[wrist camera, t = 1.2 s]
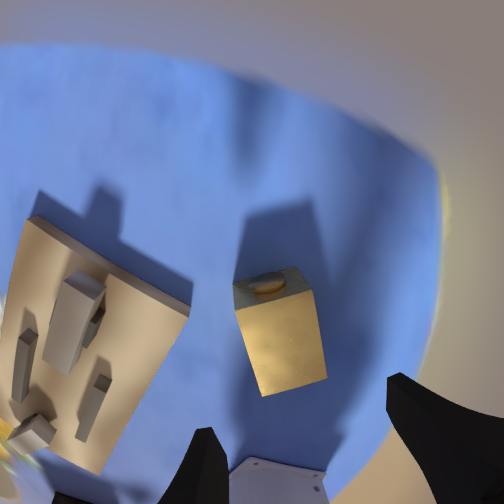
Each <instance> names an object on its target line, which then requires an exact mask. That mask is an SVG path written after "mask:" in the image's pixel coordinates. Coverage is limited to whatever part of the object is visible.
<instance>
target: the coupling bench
mask: <svg viewBox="0 0 504 504" xmlns="http://www.w3.org/2000/svg"><path fill="white" fill-rule="evenodd" d="M190 309H191V307H190V306H188V305H186V304H184V303H183V302H181V301H179V300H177V299H175V298H173V297H171V296H170V295H168V294H166V293H164V292H162V291H161V290H159V289H157V288H155V287H153V286H152V285H150V284H148V283H146V282H145V281H143V280H141V279H139V278H138V277H136V276H134V275H132V274H131V273H129V272H127V271H126V270H124V269H122V268H120V267H119V266H117V265H115V264H114V263H112V262H110V261H109V260H107V259H105V258H104V257H102V256H101V255H99V254H97V253H96V252H94V251H92V250H91V249H89V248H88V247H86V246H84V245H83V244H81V243H80V242H78V241H77V240H75V239H73V238H72V237H70V236H69V235H67V234H66V233H64V232H63V231H61V230H60V229H58V228H57V227H55V226H54V225H52V224H51V223H49V222H48V221H46V220H45V219H43V218H42V217H40V216H39V215H37V216H34V217H31V218H28V219H26V221H25V224H24V228H23V231H22V234H21V238H20V241H19V245H18V249H17V252H16V256H15V260H14V264H13V269H12V273H11V278H10V282H9V287H8V293H7V298H6V304H5V310H4V316H3V323H2V331H1V340H0V418H2V419H3V420H4V421H6V422H7V423H8V424H10V425H11V426H13V427H14V430H13V431H12V433H11V434H10V436H9V438H8V439H7V442H8V443H9V444H10V445H11V446H12V447H13V448H14V449H15V450H16V451H17V452H19V453H20V454H21V455H25V454H28V453H31V452H33V451H36V450H39V449H42V448H44V447H45V448H47V449H48V450H50V451H52V452H54V453H55V454H57V455H59V456H61V457H62V458H64V459H66V460H68V461H70V462H72V463H74V464H76V465H78V466H80V467H82V468H84V469H86V470H88V471H90V472H92V473H94V474H96V475H98V476H99V474H100V472H101V470H102V469H103V467H104V465H105V463H106V461H107V459H108V458H109V456H110V454H111V452H112V450H113V449H114V447H115V445H116V443H117V441H118V440H119V438H120V436H121V434H122V432H123V431H124V429H125V427H126V425H127V424H128V422H129V420H130V418H131V416H132V415H133V413H134V411H135V409H136V408H137V406H138V404H139V402H140V401H141V399H142V397H143V395H144V394H145V392H146V390H147V388H148V387H149V385H150V383H151V381H152V380H153V378H154V376H155V374H156V373H157V371H158V369H159V368H160V366H161V364H162V362H163V361H164V359H165V357H166V355H167V354H168V352H169V350H170V349H171V347H172V345H173V343H174V342H175V340H176V338H177V337H178V335H179V333H180V332H181V330H182V328H183V326H184V325H185V323H186V321H187V320H188V318H189V314H190Z"/></svg>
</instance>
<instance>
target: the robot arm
mask: <svg viewBox="0 0 504 504" xmlns="http://www.w3.org/2000/svg"><path fill="white" fill-rule="evenodd" d="M386 411H387V413H388V415H389V417H390V420H391V422H392V424H393V426H394V428H395V429H396V431H397V433H398V434H399V436H400V437H401V438H402V440H403V442H404V443H405V445H406V446H407V448H408V449H409V451H410V452H411V454H412V455H413V457H414V458H415V460H416V461H417V463H418V464H419V466H420V468H421V470H422V471H423V473H424V476H425V478H426V480H427V482H428V484H429V486H430V488H431V491H432V493H433V495H434V498H435V500H436V503H437V504H504V418H499V417H495V416H490V415H486V414H483V413H479V412H476V411H473V410H470V409H467V408H465V407H462V406H460V405H458V404H455V403H453V402H451V401H449V400H447V399H445V398H443V397H441V396H440V395H438V394H436V393H434V392H432V391H430V390H429V389H427V388H425V387H424V386H422V385H420V384H419V383H417V382H415V381H414V380H412V379H410V378H409V377H407V376H406V375H404V374H402V373H401V372H399V373H397V374H395V375H392V376H390V377H387V399H386ZM326 476H327V474H326V472H321V471H315V470H309V469H304V468H298V467H293V466H289V465H284V464H279V463H275V462H271V461H267V460H263V459H259V458H255V457H249V458H247V459H246V460H245V461H244V462H242V463H241V464H240V465H239V466H238V467H237V468H236V469H235V470H234V471H233V472H231V473H230V474H229V470H228V462H227V455H226V453H225V451H224V450H223V448H222V446H221V444H220V442H219V440H218V439H217V437H216V435H215V433H214V431H213V429H212V427H207V428H201V429H197V430H196V431H195V433H194V435H193V438H192V440H191V443H190V445H189V448H188V450H187V452H186V454H185V457H184V459H183V461H182V463H181V465H180V467H179V469H178V471H177V473H176V475H175V476H174V478H173V480H172V482H171V483H170V485H169V487H168V489H167V490H166V492H165V493H164V495H163V496H162V498H161V499H160V500H159V502H158V503H157V504H329V501H328V498H327V494H326V491H325V488H324V485H323V482H322V480H323V479H324V478H325V477H326Z"/></svg>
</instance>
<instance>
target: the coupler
mask: <svg viewBox="0 0 504 504" xmlns="http://www.w3.org/2000/svg"><path fill="white" fill-rule="evenodd" d="M232 285H233V296H234V307H235V313H236V316H237V320H238V323H239V326H240V329H241V332H242V336H243V339H244V342H245V345H246V348H247V352H248V355H249V358H250V361H251V364H252V367H253V370H254V373H255V376H256V379H257V383H258V386H259V389H260V392H261V395H262V397H263V396H267V395H271V394H275V393H279V392H283V391H287V390H290V389H294V388H297V387H301V386H304V385H308V384H311V383H314V382H317V381H321V380H324V379H327V372H326V366H325V359H324V353H323V347H322V341H321V335H320V329H319V323H318V318H317V312H316V306H315V301H314V296H313V290H312V288H311V287H310V286H309V284H308V283H307V282H306V280H305V279H304V277H303V276H302V275H301V273H300V272H299V271H298V269H297V268H296V267H292V268H289V269H285V270H281V271H278V272H271V273H265V274H262V275H259V276H257V277H255V278H252V279H248V280H244V281H240V282H236V283H233V284H232Z"/></svg>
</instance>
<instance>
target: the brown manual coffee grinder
mask: <svg viewBox="0 0 504 504" xmlns="http://www.w3.org/2000/svg"><path fill="white" fill-rule="evenodd" d="M52 504H92V503H89V502H86V501H83V500H80V499H77V498H74V497H70V496H67V495H65V494H62V493H59V492H55V496H54V498H53V501H52Z"/></svg>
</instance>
